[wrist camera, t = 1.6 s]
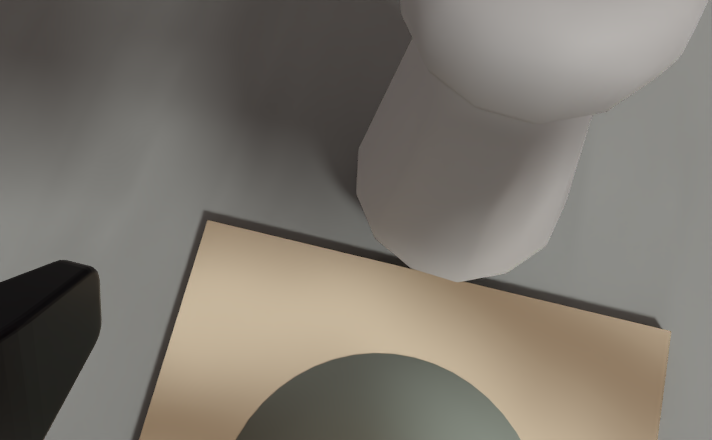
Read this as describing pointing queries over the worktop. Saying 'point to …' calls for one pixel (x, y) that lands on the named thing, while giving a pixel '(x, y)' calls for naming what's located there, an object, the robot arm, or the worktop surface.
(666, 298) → the worktop surface
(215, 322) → the board
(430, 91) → the salt shaker
